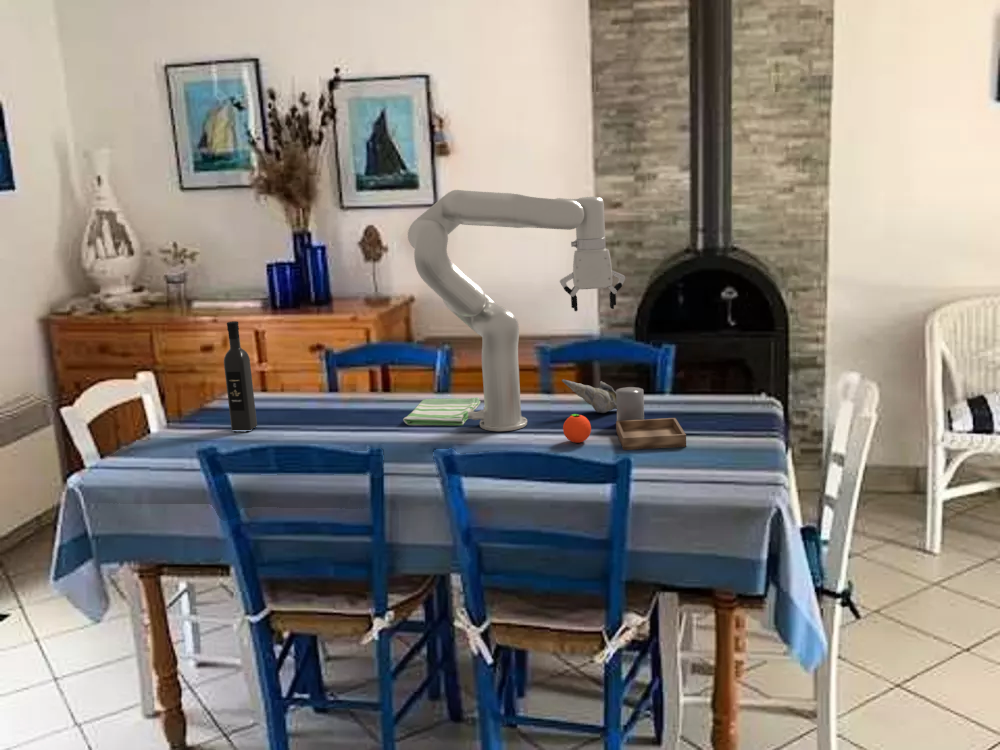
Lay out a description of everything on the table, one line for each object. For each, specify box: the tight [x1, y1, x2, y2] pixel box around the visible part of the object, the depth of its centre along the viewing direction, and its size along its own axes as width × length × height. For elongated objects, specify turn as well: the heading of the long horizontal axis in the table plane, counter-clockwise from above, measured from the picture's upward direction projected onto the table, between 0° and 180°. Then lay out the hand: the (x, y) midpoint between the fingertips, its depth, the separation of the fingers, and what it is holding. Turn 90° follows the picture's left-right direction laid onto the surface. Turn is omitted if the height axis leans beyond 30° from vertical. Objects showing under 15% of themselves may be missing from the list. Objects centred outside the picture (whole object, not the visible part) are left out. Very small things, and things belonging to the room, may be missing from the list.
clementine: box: [562, 413, 592, 444], centre depth 253 cm, size 8×7×7 cm
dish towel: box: [402, 397, 481, 426], centre depth 286 cm, size 18×23×3 cm
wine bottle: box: [223, 320, 258, 431], centre depth 278 cm, size 6×6×30 cm
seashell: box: [561, 379, 617, 414], centre depth 279 cm, size 10×17×10 cm, turn 80°
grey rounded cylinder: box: [615, 386, 645, 421], centre depth 265 cm, size 7×7×9 cm
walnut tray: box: [615, 417, 687, 451], centre depth 252 cm, size 15×15×3 cm
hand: (593, 309), depth 272 cm, fingers open, 9 cm apart
